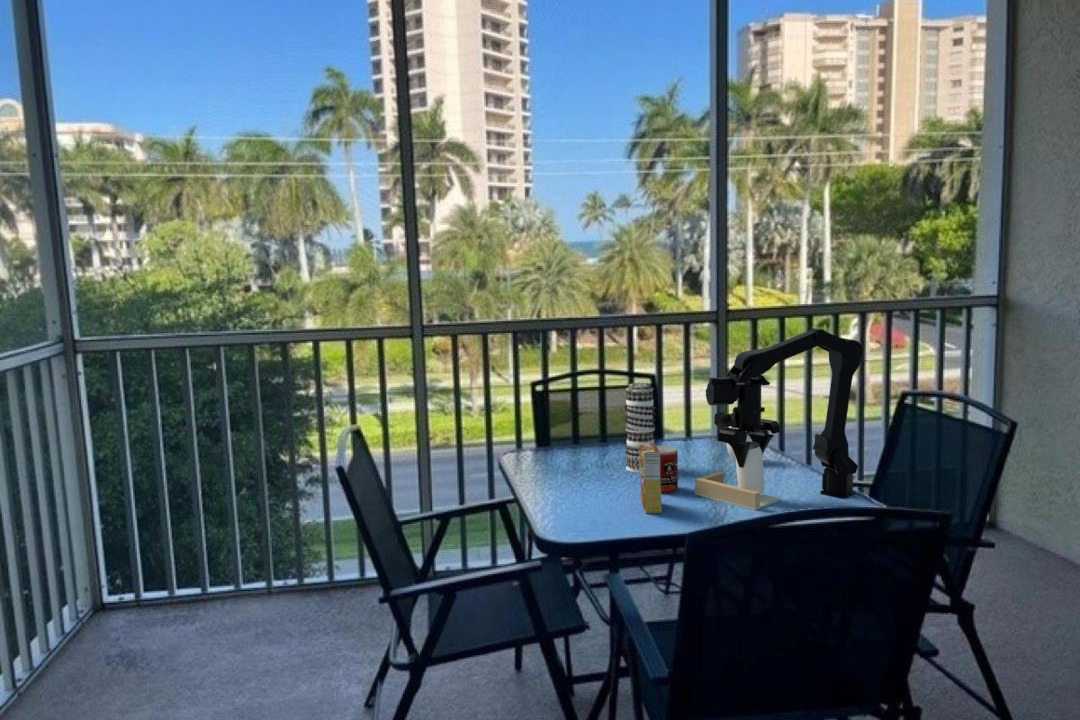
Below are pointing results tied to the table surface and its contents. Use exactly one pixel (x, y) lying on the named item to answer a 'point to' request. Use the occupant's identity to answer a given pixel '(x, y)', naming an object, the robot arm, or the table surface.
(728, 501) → the cleat board
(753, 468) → the can
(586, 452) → the table surface
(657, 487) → the candy box
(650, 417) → the decorative candle
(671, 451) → the canned food
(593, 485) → the table surface
